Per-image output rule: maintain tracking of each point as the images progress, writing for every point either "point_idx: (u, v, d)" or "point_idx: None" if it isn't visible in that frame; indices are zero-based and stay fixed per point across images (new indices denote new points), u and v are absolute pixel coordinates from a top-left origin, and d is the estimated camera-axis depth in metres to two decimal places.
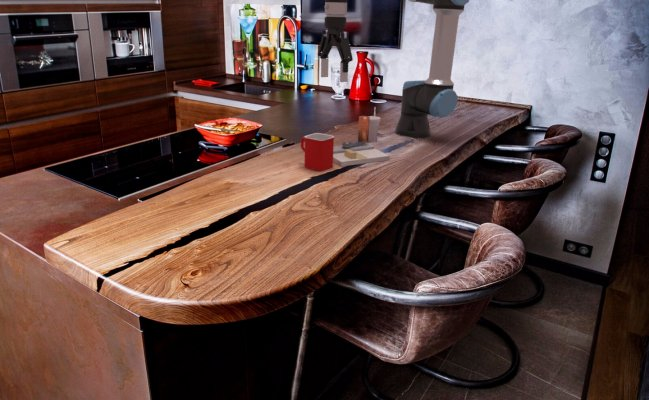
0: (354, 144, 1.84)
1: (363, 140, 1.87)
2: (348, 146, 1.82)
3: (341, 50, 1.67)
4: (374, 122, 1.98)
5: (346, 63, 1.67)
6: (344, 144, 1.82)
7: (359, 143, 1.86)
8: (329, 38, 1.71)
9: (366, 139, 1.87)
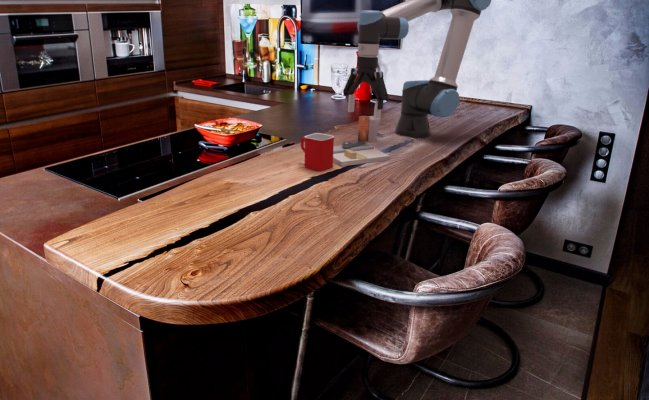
0: (354, 144, 1.84)
1: (363, 140, 1.87)
2: (348, 146, 1.82)
3: (376, 88, 1.77)
4: (374, 122, 1.98)
5: (381, 101, 1.77)
6: (344, 144, 1.82)
7: (359, 143, 1.86)
8: (361, 76, 1.80)
9: (366, 139, 1.87)
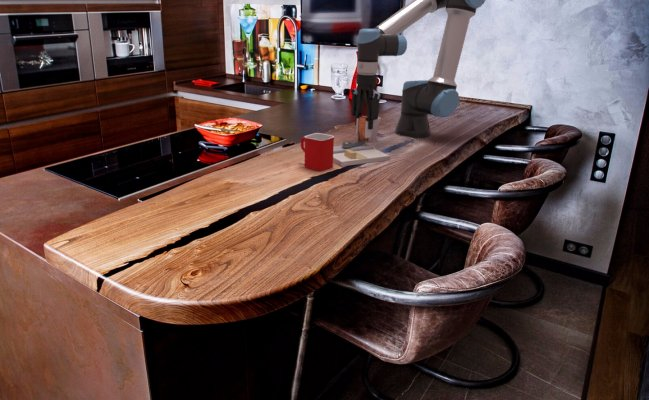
0: (354, 144, 1.84)
1: (363, 140, 1.87)
2: (348, 146, 1.82)
3: (369, 109, 1.81)
4: (374, 122, 1.98)
5: (371, 121, 1.83)
6: (344, 144, 1.82)
7: (359, 143, 1.86)
8: (361, 93, 1.82)
9: (366, 139, 1.87)
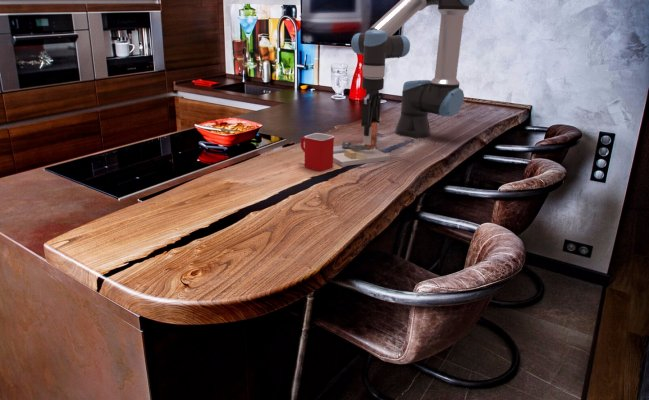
0: (354, 146, 1.81)
1: (365, 145, 1.79)
2: (344, 146, 1.82)
3: None
4: None
5: (365, 127, 1.74)
6: (342, 143, 1.83)
7: (361, 147, 1.81)
8: None
9: (368, 145, 1.79)
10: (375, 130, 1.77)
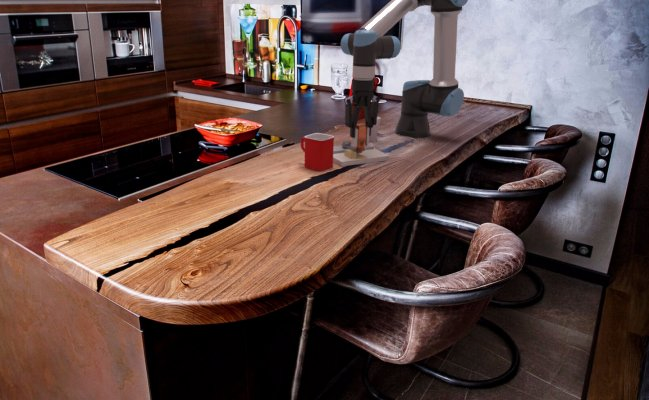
0: (348, 147, 1.80)
1: None
2: (342, 145, 1.83)
3: (352, 115, 1.70)
4: None
5: (350, 128, 1.71)
6: None
7: (352, 149, 1.78)
8: None
9: (354, 148, 1.75)
10: (361, 133, 1.71)
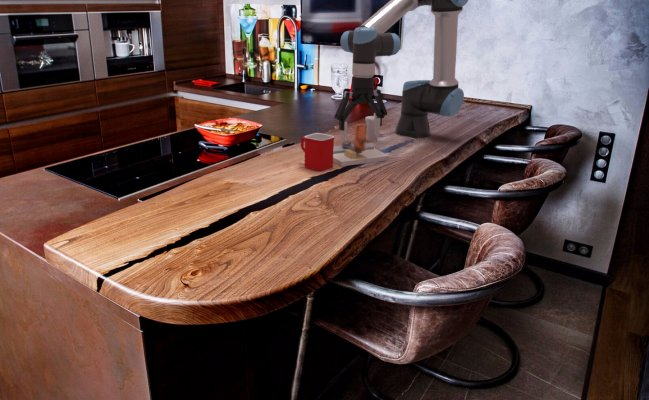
0: (348, 147, 1.80)
1: None
2: (342, 145, 1.83)
3: (346, 108, 1.68)
4: None
5: (339, 121, 1.68)
6: None
7: (352, 149, 1.78)
8: None
9: (354, 148, 1.75)
10: (360, 134, 1.71)
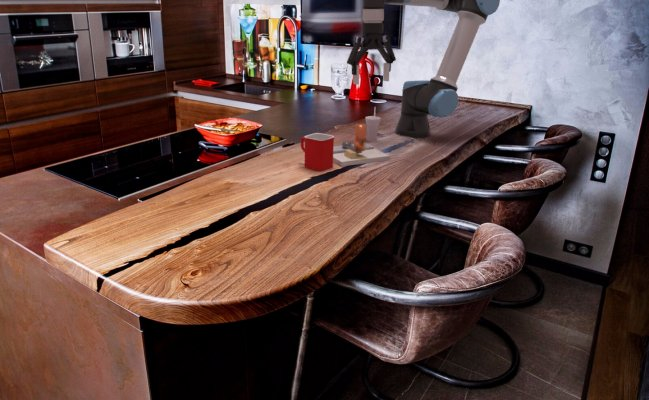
0: (348, 147, 1.80)
1: None
2: (342, 145, 1.83)
3: (357, 54, 1.77)
4: (374, 122, 1.98)
5: (352, 66, 1.77)
6: None
7: (352, 149, 1.78)
8: None
9: (354, 148, 1.75)
10: (360, 134, 1.71)
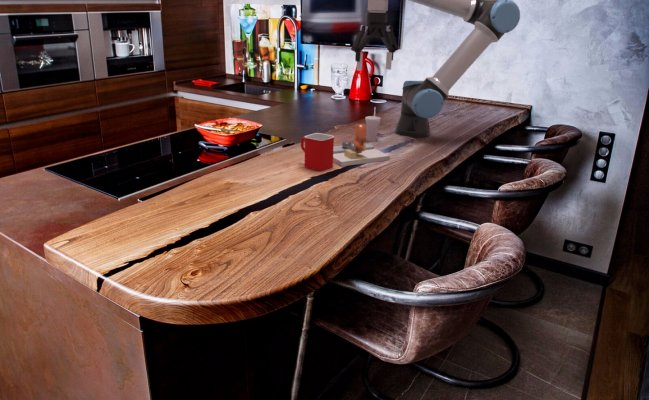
0: (348, 147, 1.80)
1: None
2: (342, 145, 1.83)
3: (361, 41, 1.88)
4: (374, 122, 1.98)
5: (356, 53, 1.87)
6: None
7: (352, 149, 1.78)
8: None
9: (354, 148, 1.75)
10: (360, 134, 1.71)
